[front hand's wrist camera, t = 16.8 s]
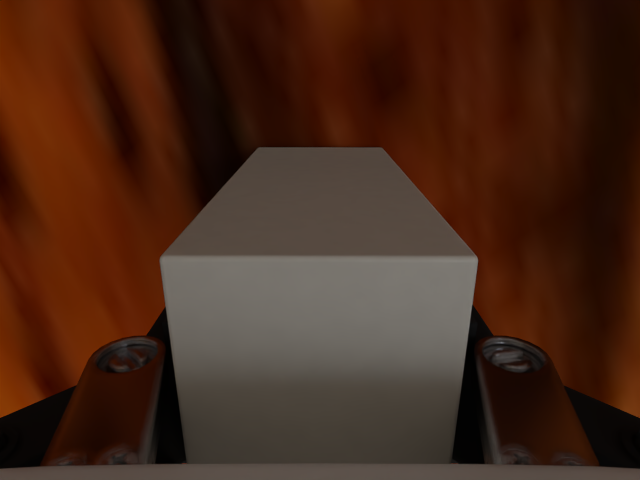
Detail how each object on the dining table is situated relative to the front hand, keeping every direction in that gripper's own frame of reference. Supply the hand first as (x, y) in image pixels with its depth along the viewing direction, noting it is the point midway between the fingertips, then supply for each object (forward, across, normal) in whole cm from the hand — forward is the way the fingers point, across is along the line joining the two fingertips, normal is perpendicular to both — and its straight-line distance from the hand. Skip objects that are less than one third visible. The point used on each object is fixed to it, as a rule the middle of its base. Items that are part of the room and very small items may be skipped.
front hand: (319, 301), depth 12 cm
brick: (+5, 0, 0) cm, 5 cm away
